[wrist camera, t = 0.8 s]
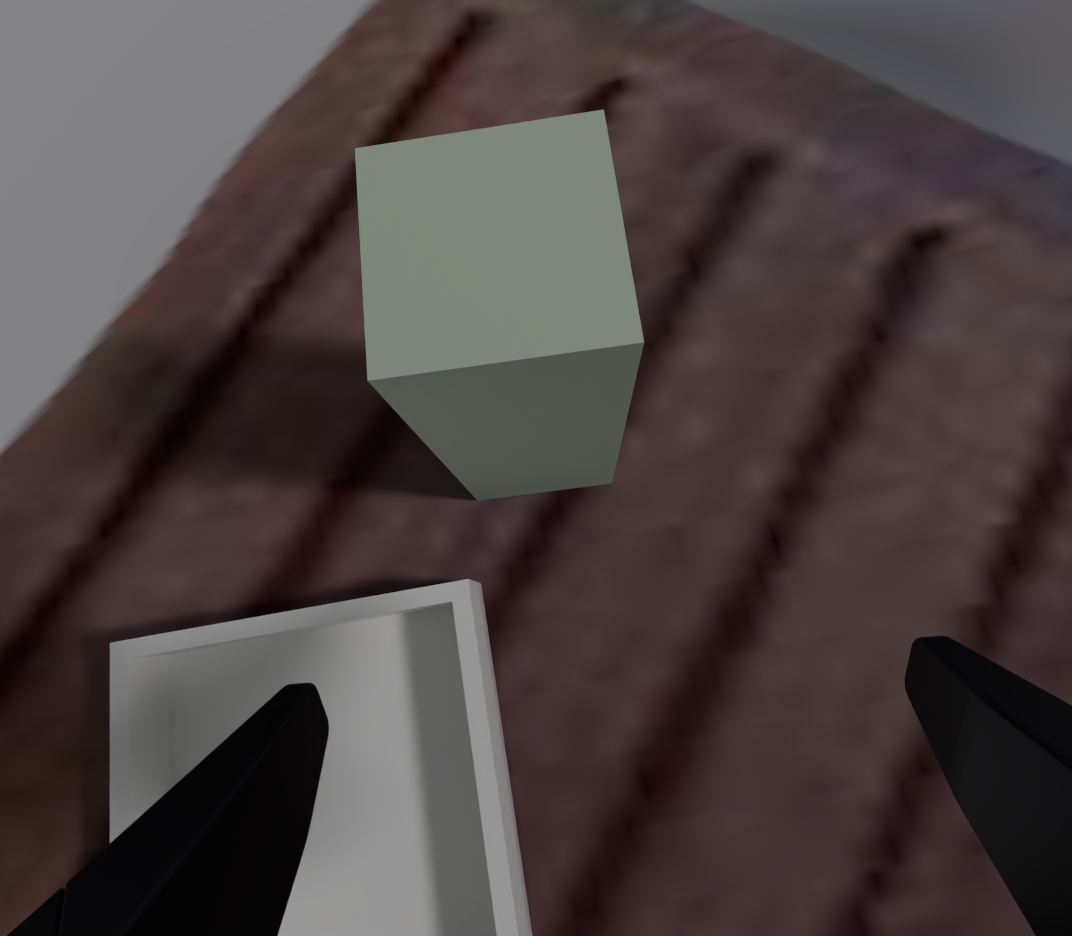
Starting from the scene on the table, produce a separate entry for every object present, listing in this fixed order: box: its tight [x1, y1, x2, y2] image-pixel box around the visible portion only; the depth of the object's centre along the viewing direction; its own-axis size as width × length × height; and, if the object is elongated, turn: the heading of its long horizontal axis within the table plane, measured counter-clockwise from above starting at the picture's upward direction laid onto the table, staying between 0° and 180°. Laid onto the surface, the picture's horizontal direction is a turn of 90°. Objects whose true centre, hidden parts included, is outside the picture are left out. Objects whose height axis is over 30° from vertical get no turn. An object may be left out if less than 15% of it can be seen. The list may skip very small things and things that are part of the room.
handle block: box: [355, 110, 644, 501], centre depth 17 cm, size 5×5×12 cm
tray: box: [110, 579, 532, 936], centre depth 19 cm, size 12×12×3 cm
